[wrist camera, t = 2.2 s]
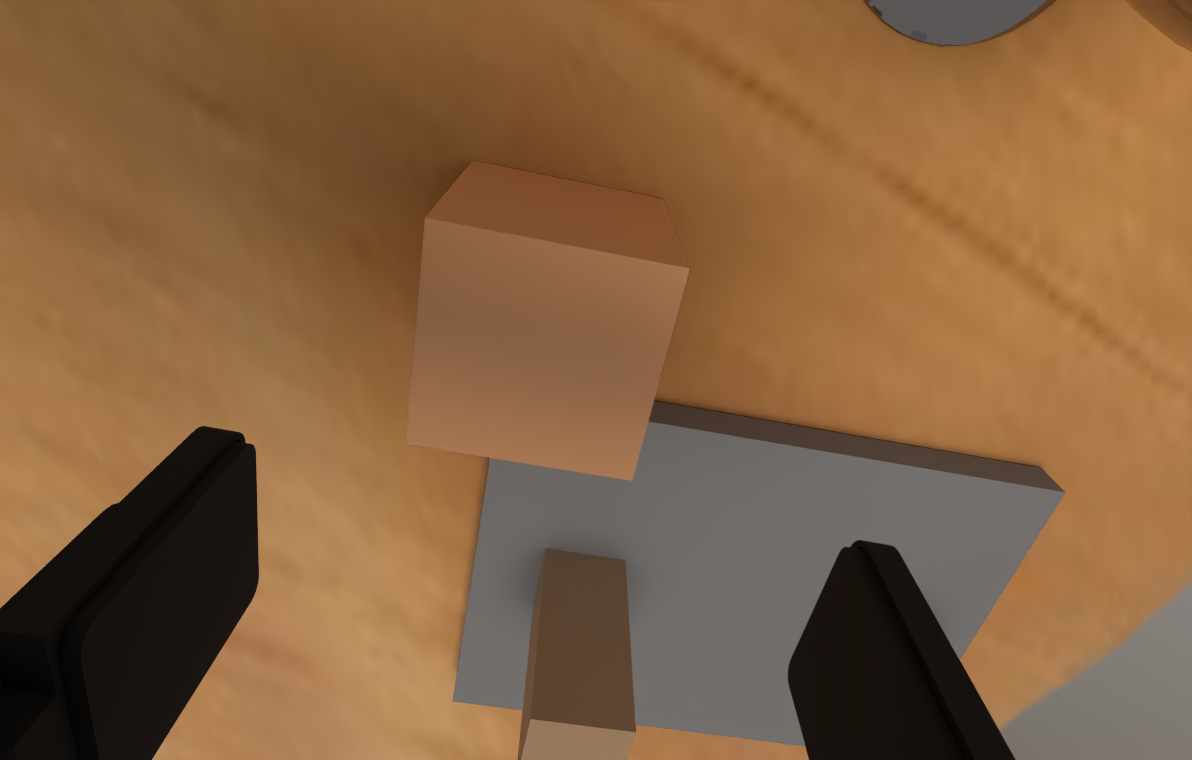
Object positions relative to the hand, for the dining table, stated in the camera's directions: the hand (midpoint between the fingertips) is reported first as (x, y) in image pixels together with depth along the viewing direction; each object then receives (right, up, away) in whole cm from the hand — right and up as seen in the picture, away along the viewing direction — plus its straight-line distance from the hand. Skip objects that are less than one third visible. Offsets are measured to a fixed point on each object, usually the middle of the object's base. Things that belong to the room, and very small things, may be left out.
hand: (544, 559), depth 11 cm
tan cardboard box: (-1, +6, +11) cm, 13 cm away
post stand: (+6, -5, +17) cm, 19 cm away
